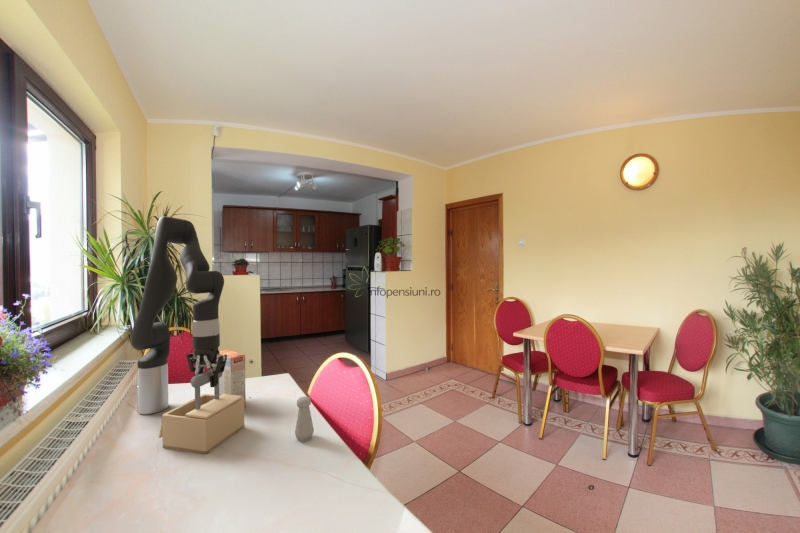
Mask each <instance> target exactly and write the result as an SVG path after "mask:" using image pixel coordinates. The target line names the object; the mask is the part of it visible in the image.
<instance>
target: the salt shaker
mask: <svg viewBox="0 0 800 533" xmlns="http://www.w3.org/2000/svg"><path fill="white" fill-rule="evenodd" d="M311 404H312V401H311V397H309V396H301V397H298V399H297V400H296V406H297V407H298V409H297V410H298V412H297V419H296V424H295V430H294V436H295V437H296V439H297V441H298V442H301V443H304V442H308V441H310V440H311V439H312V438H313V434H314V431H315V430H314V424H313V420H312V415H311V409H310V405H311Z"/></svg>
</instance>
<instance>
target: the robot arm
mask: <svg viewBox="0 0 800 533" xmlns="http://www.w3.org/2000/svg"><path fill="white" fill-rule="evenodd" d="M153 239H154V241H153V247H152V255H151V259H150V264H149V268H148V272H147V276H146V280H145V284H144V290H143V295H142V298H141V299H142V300H141V303H140V306H139V311H138V313H137V315H136V316H137V317H136V319H135V321H134V324H133V327H132V329H131V336H130V344H131V346H132V348H133V349H135V350H137V351H143V350H144V351H145V350H148V349H149V350H148V352H146V354H144V355H143V356H142V357H140V358H139V359H138V360H137V386H136V387H135V389H136V390H135V394H136V397H135V398H136V412H137V413H138V414H139V415H151V414H156V413H158V412H162V411H164V410H166V409H167V408H169V405H170V404H169V367H168V365H169V364H168V361H169V360H168V359H169V357H170V351H171V350H170V347H171V331H170V328H169V326H168V324H166V323H165V322H163V321H159V322H158V321H157V322H155V320H156V318H157V316H158V315H159V313H160V312H161V311H162V309H163V308H164V307H165V306H166V305H167V304H168V303H169V302H170V300H171V299H172V298H173V296H174V294H175V290H176V286H177V281H178V275H177V272H176V270H175V268H174V266H173V264H172V262H171V260H170V258H169V256H168V243H171V244H178V245H179V244H180V245H185V246H184V248H183V249H182V250H181V251H180V255H179V261H180V264H181V265H182V267H183V269H184V271H185V287H186V290H187V291H188V292H189V293H192V294H194V295H196V294H197V295H199V294H207V293H208V295H207V297H205V299H201V300H198V301H195V302H194V303H193V304H192V319H193V320H192V328H191V329H192V332H191V333H192V349H193V350H194V352H190V353H188V354H186V360H187V363H188V366H189V371H190V372H191V373H194V374H195V376H197V375H199V374H202V373H204V372H205V368H206V369H207V370H208V371H210V375H211V376H210V382H209V387H210V388H214V387H215V386H217V384H218V374H219V373H221V372H224V368H225V364H226V360H227V355H226V354H225V355H222V354H220V353H219V351H220V350H219V347H220V346H221V332H220V331H221V330H220V328H221V326H220V321H219V320H220V319H219V318H220V317H219V305H220V299H221V296H222V292H223V289H224V286H225V278H224V276H223V275H224V274H222V273H221V272H220V271H217V270H210V264H209V262H208V260H207V258H206V256H205V255H204V253H203V252H202V249H201V245H200V243H199V242H200V241H199V237H198V234H197V231H196V227H195V225H194V223H193V222H192V221H190V220H187V219H182V218H177V217H172V216H163V215H162V216H161V217H160V218H159V219H158V221H157V224H156V226H155V233H154V238H153ZM214 370H215V371H214Z"/></svg>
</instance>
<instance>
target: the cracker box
mask: <svg viewBox="0 0 800 533" xmlns="http://www.w3.org/2000/svg"><path fill="white" fill-rule="evenodd" d="M219 353H220V354H222V355H225V354H226V355H227V360H226V364H225V368H224V372H223V374H222V376H221V377H220V378H219V396H220V395H222V394H228V395H237V396H243V398H244V409H245V408H246V404H247V403H246V402H247V401H246V400H247V399H246V396H247V395H246V354H243V353H240V352H238V351H234V350H231V349H225V350H219Z"/></svg>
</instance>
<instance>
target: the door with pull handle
mask: <svg viewBox="0 0 800 533" xmlns="http://www.w3.org/2000/svg"><path fill="white" fill-rule="evenodd" d="M214 371H215V370H214ZM222 374H223V372H221V373H219V374H218V384H217V386H215V387H213V388H214V393H213V395H215V399H213V400H211V401H209V402H207V403H205V404H203V405H201V406H200V396H201V387H202V386H205V385H207V384H210V376H211V375H210V371H209V370H207V371H204V372H203V373H202V374H199V375H197V376H196V375H195V376H192V377H191V379H190V385H191V387H192V388H194V399H195V409H194V410H192V411H190V412H188V413H186V414H185V416H188V417H196V418H204V419H207V418H209V417H211V416H212V415H214V414H216V413H217V412H219V411H221V410H223V409H224V408H226V407H228V406H229V405H231V404H233V403H234V402H236V401H238V400H240V399H241V398H243V396H237V395H228V394H222V395H220V396H219V378H220V377H221V376H222Z"/></svg>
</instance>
